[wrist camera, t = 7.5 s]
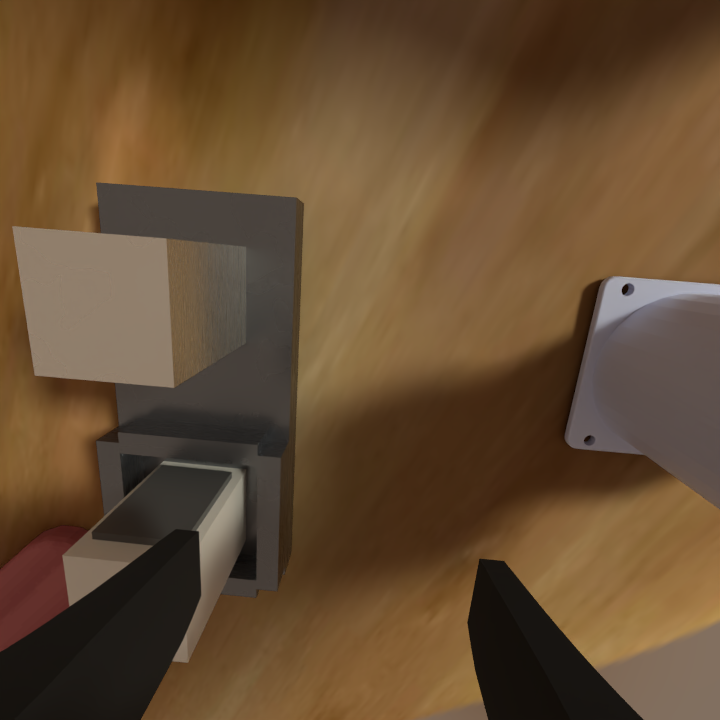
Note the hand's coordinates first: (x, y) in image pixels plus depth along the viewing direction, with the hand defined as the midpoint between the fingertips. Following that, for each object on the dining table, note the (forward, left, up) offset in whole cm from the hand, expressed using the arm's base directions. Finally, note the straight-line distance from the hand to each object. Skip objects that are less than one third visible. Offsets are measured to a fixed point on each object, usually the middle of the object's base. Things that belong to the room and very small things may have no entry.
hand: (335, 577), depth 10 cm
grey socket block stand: (+7, -2, -9) cm, 12 cm away
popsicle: (+19, +14, -10) cm, 25 cm away
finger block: (+7, +4, -8) cm, 11 cm away
